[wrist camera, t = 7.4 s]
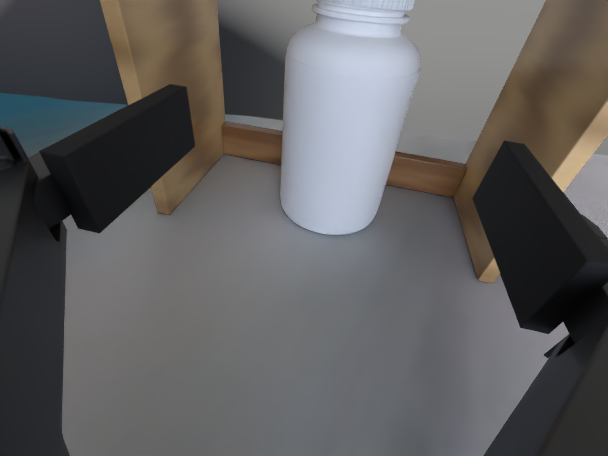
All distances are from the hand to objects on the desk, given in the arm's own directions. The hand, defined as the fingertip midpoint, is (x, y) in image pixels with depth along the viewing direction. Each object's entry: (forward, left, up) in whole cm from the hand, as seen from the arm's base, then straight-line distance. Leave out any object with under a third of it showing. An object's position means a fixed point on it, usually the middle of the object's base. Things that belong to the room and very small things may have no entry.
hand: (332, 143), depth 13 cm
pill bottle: (-2, +8, -9) cm, 12 cm away
